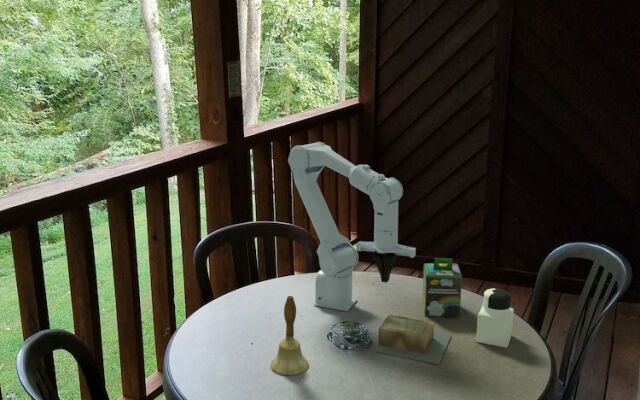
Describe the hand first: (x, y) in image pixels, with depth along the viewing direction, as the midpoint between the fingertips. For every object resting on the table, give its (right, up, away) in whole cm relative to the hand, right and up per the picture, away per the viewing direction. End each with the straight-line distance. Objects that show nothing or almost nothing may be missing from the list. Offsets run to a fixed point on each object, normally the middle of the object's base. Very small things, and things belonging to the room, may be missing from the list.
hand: (385, 280), depth 146 cm
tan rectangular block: (-1, -10, -8) cm, 13 cm away
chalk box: (+15, -9, +8) cm, 20 cm away
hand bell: (-23, -16, -19) cm, 34 cm away
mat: (+6, -13, -10) cm, 18 cm away
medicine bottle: (+25, -13, -7) cm, 29 cm away
